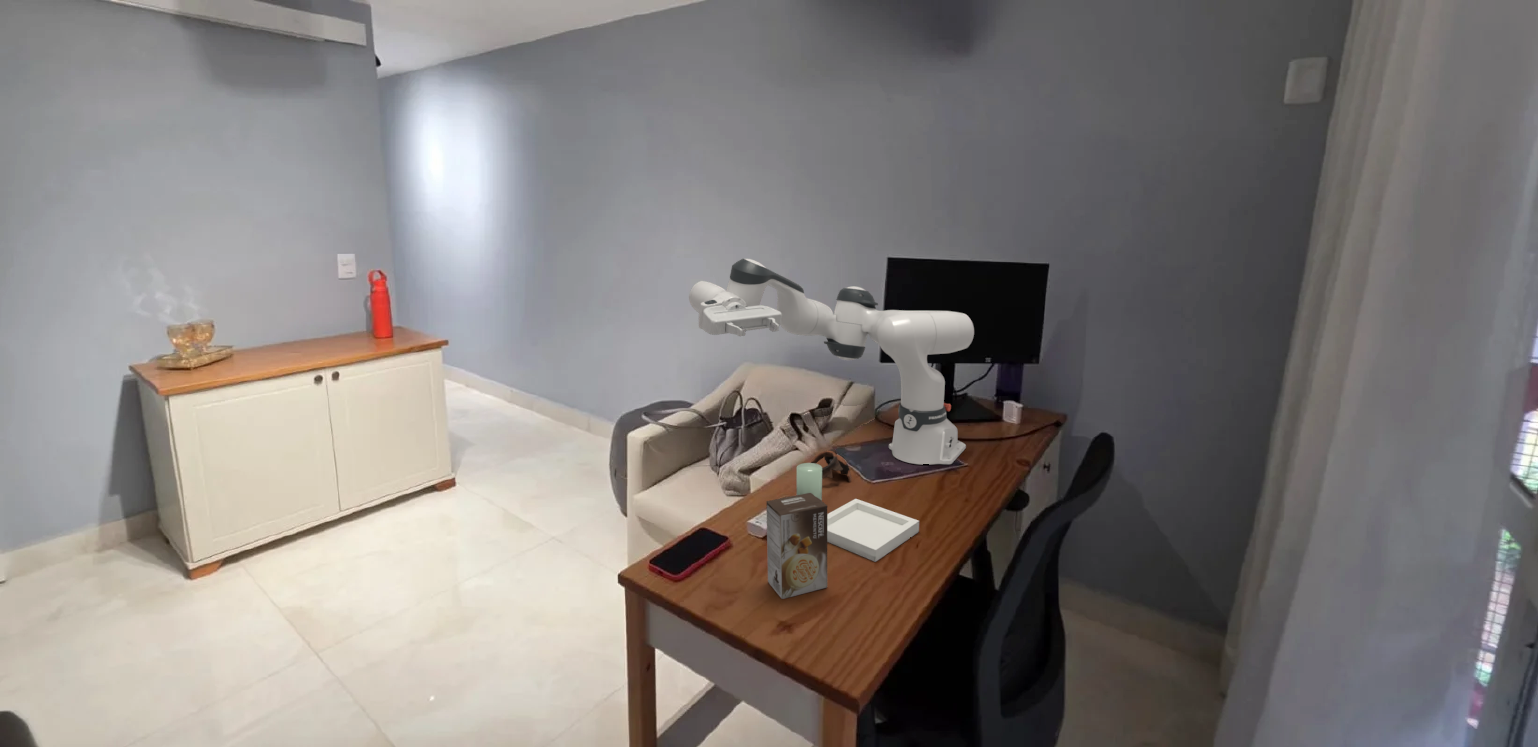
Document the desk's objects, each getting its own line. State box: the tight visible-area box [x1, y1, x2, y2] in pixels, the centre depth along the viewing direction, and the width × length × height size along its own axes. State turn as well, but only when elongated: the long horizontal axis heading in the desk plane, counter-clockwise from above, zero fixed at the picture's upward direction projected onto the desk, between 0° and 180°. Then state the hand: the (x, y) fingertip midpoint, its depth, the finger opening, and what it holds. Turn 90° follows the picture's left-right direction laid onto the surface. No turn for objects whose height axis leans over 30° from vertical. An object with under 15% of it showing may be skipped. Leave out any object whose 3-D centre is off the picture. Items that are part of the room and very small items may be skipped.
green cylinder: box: [796, 462, 823, 502], centre depth 145 cm, size 6×6×11 cm
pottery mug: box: [810, 448, 852, 483], centre depth 165 cm, size 12×10×8 cm
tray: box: [827, 498, 920, 562], centre depth 137 cm, size 16×16×2 cm
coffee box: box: [765, 493, 828, 600], centre depth 117 cm, size 9×6×16 cm
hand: (760, 330), depth 155 cm, fingers open, 8 cm apart
